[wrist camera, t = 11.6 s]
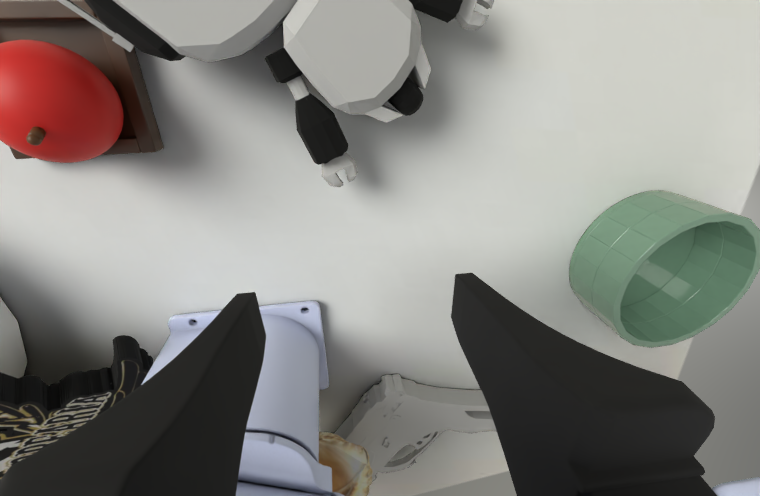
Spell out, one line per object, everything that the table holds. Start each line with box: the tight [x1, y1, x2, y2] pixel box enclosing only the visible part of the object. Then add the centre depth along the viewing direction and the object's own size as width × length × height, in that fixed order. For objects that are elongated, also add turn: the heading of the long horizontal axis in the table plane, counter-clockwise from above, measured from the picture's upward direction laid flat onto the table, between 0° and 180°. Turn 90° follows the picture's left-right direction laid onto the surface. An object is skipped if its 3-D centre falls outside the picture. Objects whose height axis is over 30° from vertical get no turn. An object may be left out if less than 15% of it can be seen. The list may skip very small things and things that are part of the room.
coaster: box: [0, 0, 164, 159], centre depth 16 cm, size 6×6×1 cm
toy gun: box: [334, 374, 497, 482], centre depth 32 cm, size 2×28×15 cm
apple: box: [0, 40, 124, 163], centre depth 14 cm, size 5×5×5 cm
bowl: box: [569, 190, 760, 348], centre depth 24 cm, size 10×10×4 cm
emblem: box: [0, 335, 154, 480], centre depth 19 cm, size 16×2×15 cm
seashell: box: [319, 432, 373, 496], centre depth 25 cm, size 8×6×10 cm
